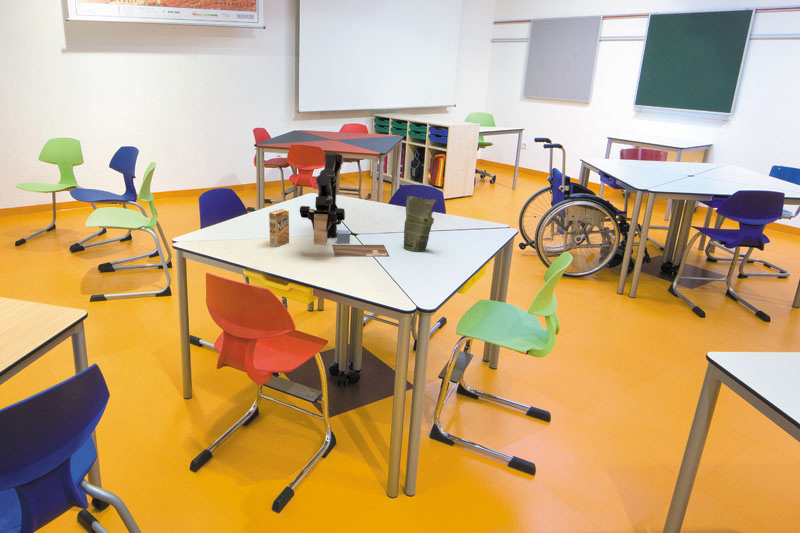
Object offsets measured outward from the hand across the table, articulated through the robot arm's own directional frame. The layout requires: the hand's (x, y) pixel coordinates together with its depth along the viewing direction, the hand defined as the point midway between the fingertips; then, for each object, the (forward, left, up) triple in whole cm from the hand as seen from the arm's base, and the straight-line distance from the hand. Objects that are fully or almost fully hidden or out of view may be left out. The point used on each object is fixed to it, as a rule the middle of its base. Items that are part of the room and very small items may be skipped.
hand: (320, 230), depth 235 cm
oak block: (-1, 0, -6) cm, 6 cm away
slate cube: (-23, +12, -13) cm, 28 cm away
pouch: (-13, +45, -13) cm, 48 cm away
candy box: (-21, -17, -13) cm, 30 cm away
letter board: (-10, +18, -12) cm, 24 cm away
